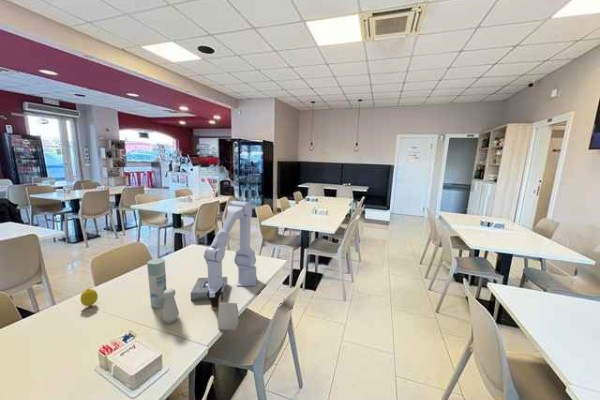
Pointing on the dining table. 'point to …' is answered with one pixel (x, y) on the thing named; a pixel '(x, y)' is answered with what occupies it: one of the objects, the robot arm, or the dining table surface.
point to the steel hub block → (205, 289)
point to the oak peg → (218, 303)
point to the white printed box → (228, 316)
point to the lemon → (89, 297)
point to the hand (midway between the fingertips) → (216, 303)
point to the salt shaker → (170, 306)
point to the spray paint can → (157, 281)
